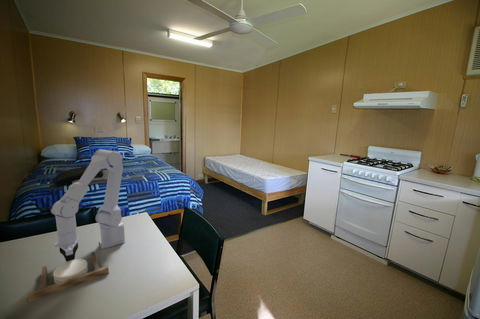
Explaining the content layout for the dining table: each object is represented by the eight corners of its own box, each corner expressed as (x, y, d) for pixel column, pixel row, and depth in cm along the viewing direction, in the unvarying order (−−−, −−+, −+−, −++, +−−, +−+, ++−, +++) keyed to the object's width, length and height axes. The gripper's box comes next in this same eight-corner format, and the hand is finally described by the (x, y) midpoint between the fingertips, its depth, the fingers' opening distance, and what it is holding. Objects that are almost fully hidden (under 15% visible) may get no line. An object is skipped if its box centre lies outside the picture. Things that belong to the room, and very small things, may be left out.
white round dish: (85, 262, 87) (84, 255, 86) (90, 276, 80) (89, 268, 79) (53, 274, 80) (52, 265, 79) (55, 290, 73) (53, 281, 72)
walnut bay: (103, 254, 92) (102, 249, 92) (108, 273, 81) (108, 267, 81) (32, 276, 78) (31, 270, 78) (28, 302, 67) (27, 295, 67)
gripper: (53, 225, 85) (57, 256, 87) (53, 242, 74) (57, 277, 76) (75, 221, 89) (78, 250, 92) (78, 236, 78) (81, 269, 81)
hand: (70, 261), depth 84 cm, fingers closed
